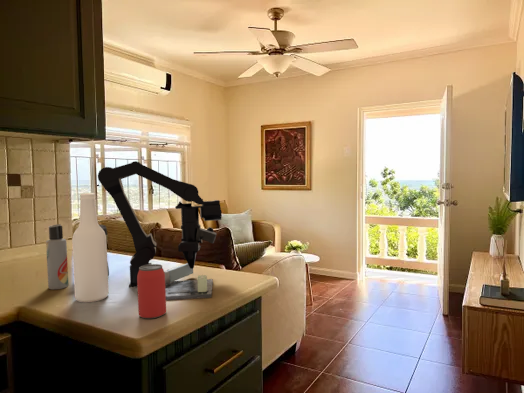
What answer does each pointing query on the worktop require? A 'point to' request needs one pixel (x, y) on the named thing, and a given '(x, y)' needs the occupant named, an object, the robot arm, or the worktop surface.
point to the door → (177, 273)
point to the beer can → (151, 291)
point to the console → (187, 290)
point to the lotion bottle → (57, 258)
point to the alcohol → (89, 254)
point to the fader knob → (202, 283)
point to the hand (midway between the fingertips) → (192, 268)
